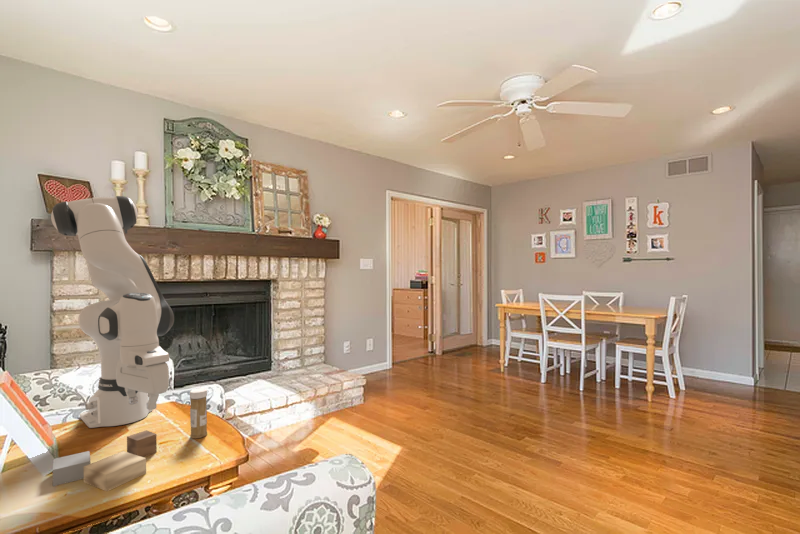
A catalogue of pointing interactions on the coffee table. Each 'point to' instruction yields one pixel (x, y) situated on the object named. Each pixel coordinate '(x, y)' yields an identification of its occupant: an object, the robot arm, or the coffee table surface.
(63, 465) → the grey block
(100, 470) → the oak block
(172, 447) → the coffee table surface
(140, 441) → the walnut cube
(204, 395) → the sprinkles bottle
